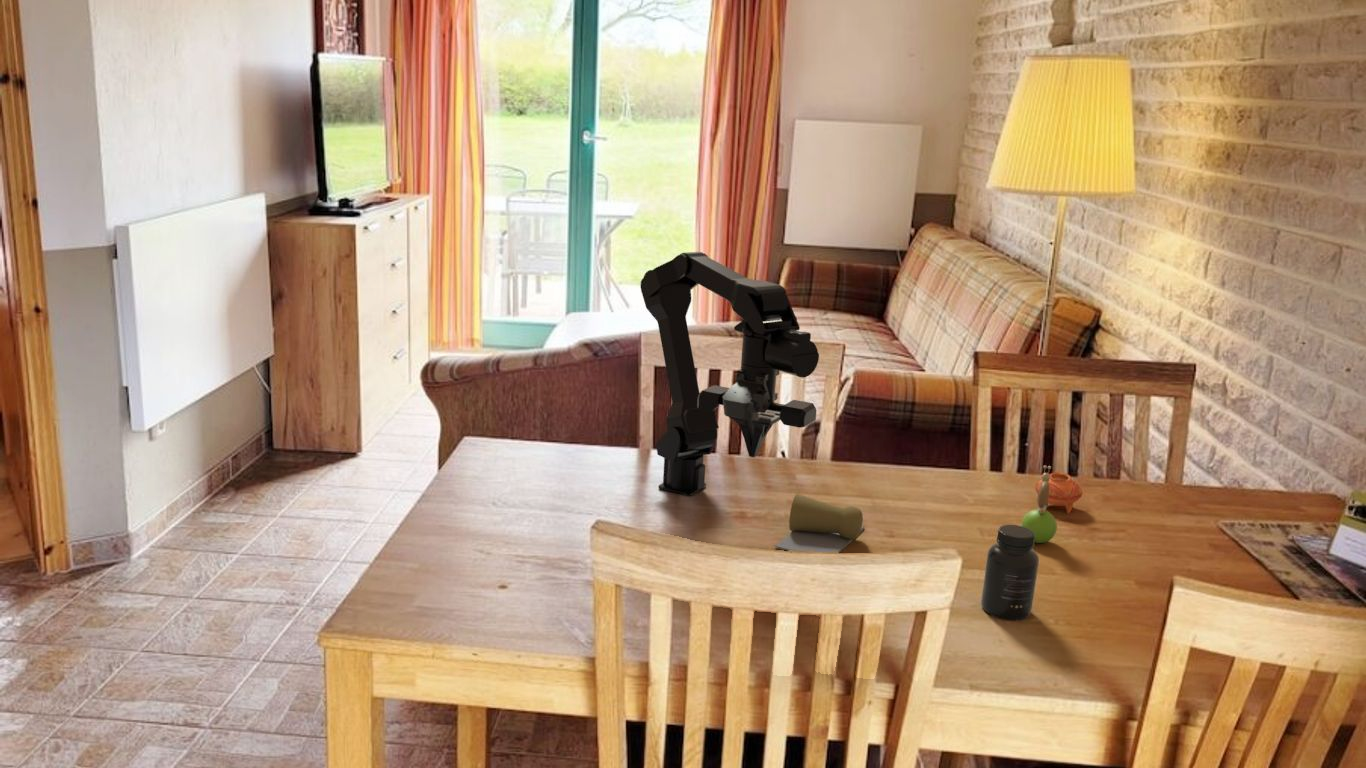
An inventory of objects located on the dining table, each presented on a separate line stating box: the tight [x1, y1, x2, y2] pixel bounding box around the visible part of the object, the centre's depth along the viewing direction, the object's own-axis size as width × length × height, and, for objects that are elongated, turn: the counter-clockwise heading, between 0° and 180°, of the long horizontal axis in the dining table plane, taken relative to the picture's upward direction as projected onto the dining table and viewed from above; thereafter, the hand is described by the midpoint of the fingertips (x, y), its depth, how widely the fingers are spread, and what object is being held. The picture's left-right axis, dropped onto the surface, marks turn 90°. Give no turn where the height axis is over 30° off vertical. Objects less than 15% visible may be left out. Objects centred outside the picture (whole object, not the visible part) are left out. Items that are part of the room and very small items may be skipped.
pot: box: [1034, 472, 1083, 514], centre depth 190 cm, size 8×8×7 cm
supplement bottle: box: [980, 524, 1040, 621], centre depth 148 cm, size 7×7×12 cm
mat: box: [775, 525, 865, 553], centre depth 171 cm, size 9×16×1 cm, turn 152°
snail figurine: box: [1021, 465, 1058, 544], centre depth 173 cm, size 5×6×12 cm
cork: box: [788, 493, 864, 540], centre depth 171 cm, size 6×6×11 cm
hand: (752, 456), depth 174 cm, fingers closed
